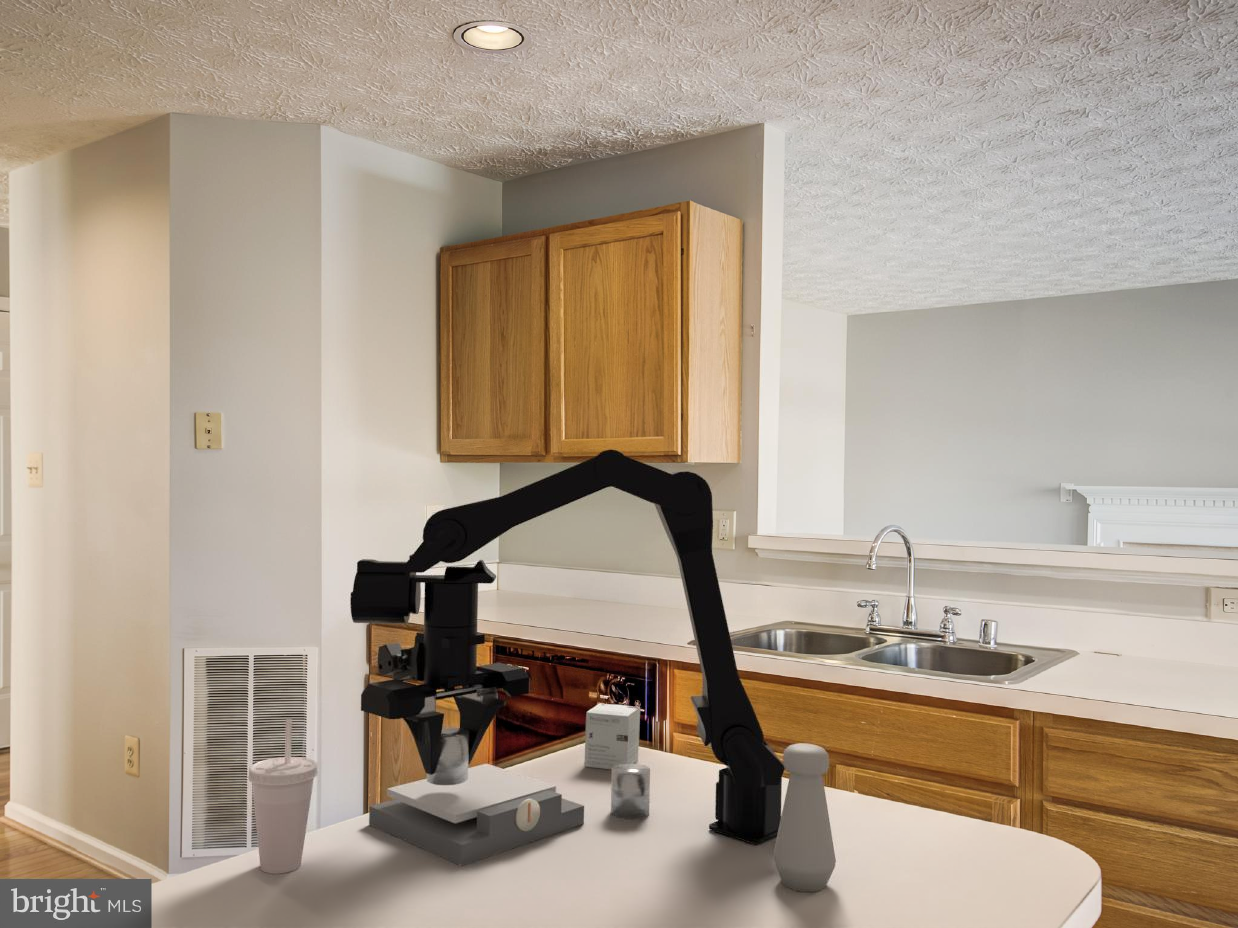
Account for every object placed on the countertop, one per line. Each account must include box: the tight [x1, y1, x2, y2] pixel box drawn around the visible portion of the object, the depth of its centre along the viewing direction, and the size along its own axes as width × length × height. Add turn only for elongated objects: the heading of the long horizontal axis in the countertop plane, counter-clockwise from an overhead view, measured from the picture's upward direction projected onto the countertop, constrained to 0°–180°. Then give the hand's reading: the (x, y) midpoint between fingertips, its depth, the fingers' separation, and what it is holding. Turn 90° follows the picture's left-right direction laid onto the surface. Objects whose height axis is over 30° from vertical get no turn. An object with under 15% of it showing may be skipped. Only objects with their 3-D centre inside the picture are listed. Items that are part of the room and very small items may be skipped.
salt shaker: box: [773, 742, 837, 893], centre depth 95 cm, size 6×6×13 cm
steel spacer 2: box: [610, 763, 651, 821], centre depth 114 cm, size 4×4×5 cm
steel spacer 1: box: [426, 726, 469, 785], centre depth 107 cm, size 4×4×5 cm
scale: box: [368, 763, 585, 867], centre depth 109 cm, size 16×17×5 cm
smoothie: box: [247, 718, 318, 875], centre depth 96 cm, size 6×6×14 cm
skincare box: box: [583, 702, 641, 771], centre depth 133 cm, size 6×6×7 cm
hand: (447, 769), depth 107 cm, fingers closed on steel spacer 1, 4 cm apart
